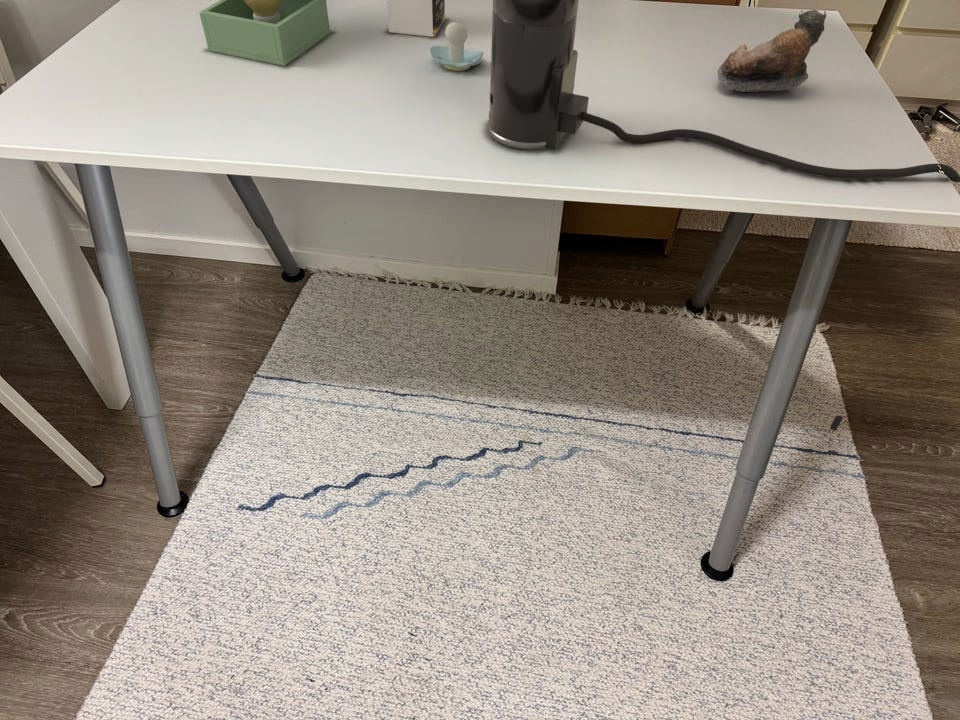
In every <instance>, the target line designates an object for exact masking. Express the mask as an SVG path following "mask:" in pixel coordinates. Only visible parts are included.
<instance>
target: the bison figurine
mask: <svg viewBox="0 0 960 720" xmlns="http://www.w3.org/2000/svg"><path fill="white" fill-rule="evenodd" d="M798 18H799V19H798V21H797V22H795V23H794V25H793V26H794V28H790V29H787V30H785V31H781V32H780V33H778V34H777V35H776V36H775V37H774V38H772V39H770V40H767V41H765V42H762V43H760V44H758V45H756V46H755V47H754V48H752V49H748V46H747V44H745V43H743V44H741V45H739V46H738V47H737V48H736V49H735V50H734V51H733V52H730V53H729V55H728V56H727V57H726V59H724V61H723V63H722V64H721V65H720V66H719V68H718V69H717V78H718V82H719V84H721V85H722V86H723V88H724V89H726V90H730V91H734V92H735V91H736V92H741V93H742V92H743V93H745V92H746V93H763V92H780V91H786V90H791V89H795V88H798V87H799V86H801V85H802V84H803V83H804V82H806V81H807V80H808V79H809V74H808V72H807V69H808V65H807V62H806V59H807V57H808V56H809V54H810V51H811V48H812V47H813V46H814V45H815V44H817V43H818V42H819V40H820V38H821V36H822V34H823V32H824V31H825V22H826V21H825V20H826V18H827V11H826V10H824V11H823V13H821V12H820V11H818V10H816V9H809V10H807V11H804V10H803V9H802V10H800V11H799V13H798Z"/></svg>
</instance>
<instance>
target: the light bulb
mask: <svg viewBox="0 0 960 720" xmlns="http://www.w3.org/2000/svg"><path fill="white" fill-rule="evenodd" d="M281 1H282V0H244V2H245V3H246V4H247V5H248V6H249V7H250V8H251V9H252V10H253V11H254V13H253V19H254V20H256V21H262V22H267V23H272V24H277V23H279V22H280V21H281V20H280V13H279V11H278V10H277V9H278V7H279V5H280V3H281Z"/></svg>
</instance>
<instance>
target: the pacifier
mask: <svg viewBox="0 0 960 720" xmlns="http://www.w3.org/2000/svg"><path fill="white" fill-rule="evenodd" d="M444 32H445V33H444V35H445V38H446V40H447V42H448V47H446V46H442V45H434V46H431V47H430V48H429V54H430V56H431V58H432V59H433V61H435V62H437V63H438V64H439V65H442V66H443V67H444V68H445V69H447V70H451V71H456V72H459V71H460V72H461V71H466V70H469V69H470V68H471V67H473V66H477V65H479V64H481V63H482V62H483V59H482V57H483V55H484V51H483V50H481V49H480V50H478V49H465V43H466V41H467V40H468V31H467V29H466V27H465V26H464V25H463V24H461V23H460V22H457V21H453V22H450V23H448V24H447V26H446V27H445V31H444Z"/></svg>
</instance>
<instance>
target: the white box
mask: <svg viewBox="0 0 960 720" xmlns="http://www.w3.org/2000/svg"><path fill="white" fill-rule="evenodd" d="M445 10H446V6H445V0H386V11H387V12H386V13H387V27H388V32H389V33H390V34H401V35H411V36H420V37H429V38H432V37H435V36H436V34H437V33H438V31H439V30H440V27H441V26H442V25H443V23H444V21H445V19H446V11H445Z"/></svg>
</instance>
